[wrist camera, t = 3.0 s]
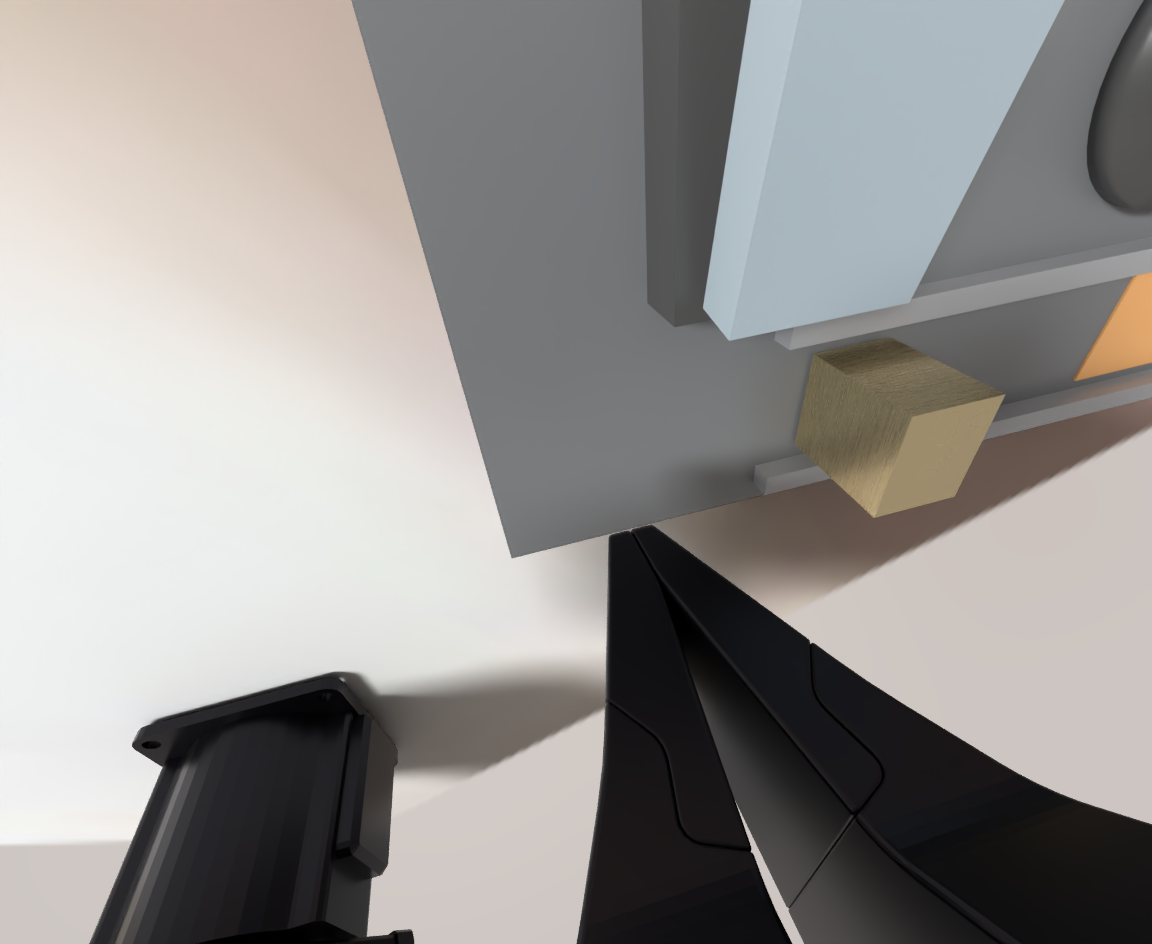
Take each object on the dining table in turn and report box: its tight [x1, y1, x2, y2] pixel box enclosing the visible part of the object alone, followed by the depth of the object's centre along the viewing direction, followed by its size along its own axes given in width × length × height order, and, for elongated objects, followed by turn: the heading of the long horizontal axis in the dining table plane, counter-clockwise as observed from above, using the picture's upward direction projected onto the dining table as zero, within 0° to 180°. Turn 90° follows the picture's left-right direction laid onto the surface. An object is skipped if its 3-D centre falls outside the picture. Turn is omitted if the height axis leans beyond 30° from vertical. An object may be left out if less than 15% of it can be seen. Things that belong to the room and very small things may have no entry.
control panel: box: [352, 0, 1152, 558], centre depth 11 cm, size 22×12×3 cm, turn 97°
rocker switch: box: [703, 0, 1065, 341], centre depth 6 cm, size 3×5×1 cm, turn 7°
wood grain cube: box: [794, 337, 1006, 518], centre depth 11 cm, size 2×3×3 cm
